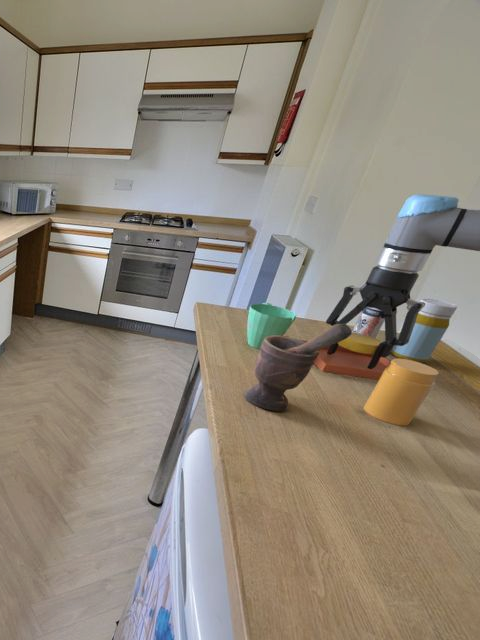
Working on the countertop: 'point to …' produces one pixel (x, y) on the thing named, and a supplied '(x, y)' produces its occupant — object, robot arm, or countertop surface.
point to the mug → (267, 322)
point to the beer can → (369, 322)
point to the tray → (349, 363)
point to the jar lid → (360, 343)
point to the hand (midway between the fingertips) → (350, 360)
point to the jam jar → (400, 391)
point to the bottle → (426, 331)
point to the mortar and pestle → (287, 365)
